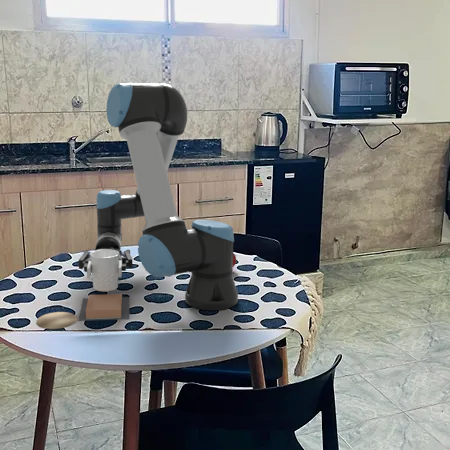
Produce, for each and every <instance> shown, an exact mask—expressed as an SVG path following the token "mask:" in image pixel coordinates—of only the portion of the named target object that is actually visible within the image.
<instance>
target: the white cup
mask: <svg viewBox="0 0 450 450" xmlns="http://www.w3.org/2000/svg"><path fill="white" fill-rule="evenodd" d="M90 252H91V253H90V258H91V270H92V272H91V277H92V286H93V287H92V288H93V289H94V290H95V291H98V292H112V291H115V290H117V288H118V287H119V278H120V277H119V271H118V267H119V252H118V251H116V250H111V249H102V250H96V251H94V250H93V251H90Z"/></svg>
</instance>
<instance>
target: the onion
mask: <svg viewBox="0 0 450 450" xmlns="http://www.w3.org/2000/svg"><path fill="white" fill-rule="evenodd" d="M236 263H237V255H235V253H234V252H233V268H234V267H235V266H236Z"/></svg>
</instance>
